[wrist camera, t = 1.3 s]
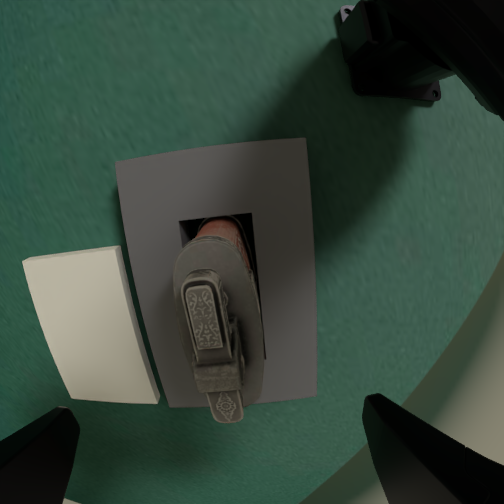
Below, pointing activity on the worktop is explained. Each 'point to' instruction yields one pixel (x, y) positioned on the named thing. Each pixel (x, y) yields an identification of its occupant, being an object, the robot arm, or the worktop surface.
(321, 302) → the worktop surface
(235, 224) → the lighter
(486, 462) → the robot arm
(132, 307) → the rubber mat
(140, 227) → the grey rectangular frame
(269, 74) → the worktop surface
